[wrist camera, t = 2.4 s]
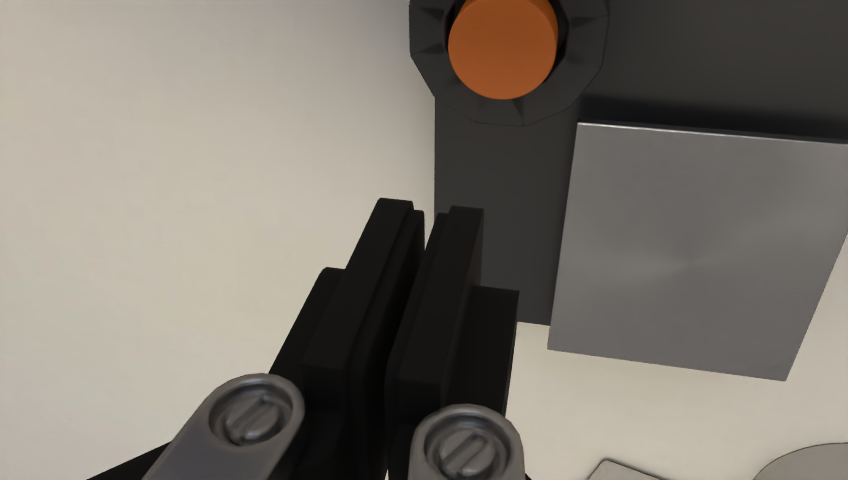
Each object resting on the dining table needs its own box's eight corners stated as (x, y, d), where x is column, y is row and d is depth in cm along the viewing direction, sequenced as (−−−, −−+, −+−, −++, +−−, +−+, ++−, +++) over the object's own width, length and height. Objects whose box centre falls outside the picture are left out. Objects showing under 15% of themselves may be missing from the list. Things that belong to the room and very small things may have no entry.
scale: (426, -94, 23) (407, -74, 21) (916, -77, 21) (959, -52, 18) (427, 289, 32) (413, 334, 30) (765, 331, 30) (779, 383, 28)
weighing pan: (577, 117, 23) (577, 122, 23) (879, 141, 21) (883, 147, 21) (547, 343, 29) (547, 350, 28) (783, 374, 27) (785, 382, 27)
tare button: (457, -23, 21) (448, -9, 20) (564, -18, 21) (561, -2, 20) (454, 77, 23) (447, 96, 22) (553, 84, 23) (550, 104, 22)
